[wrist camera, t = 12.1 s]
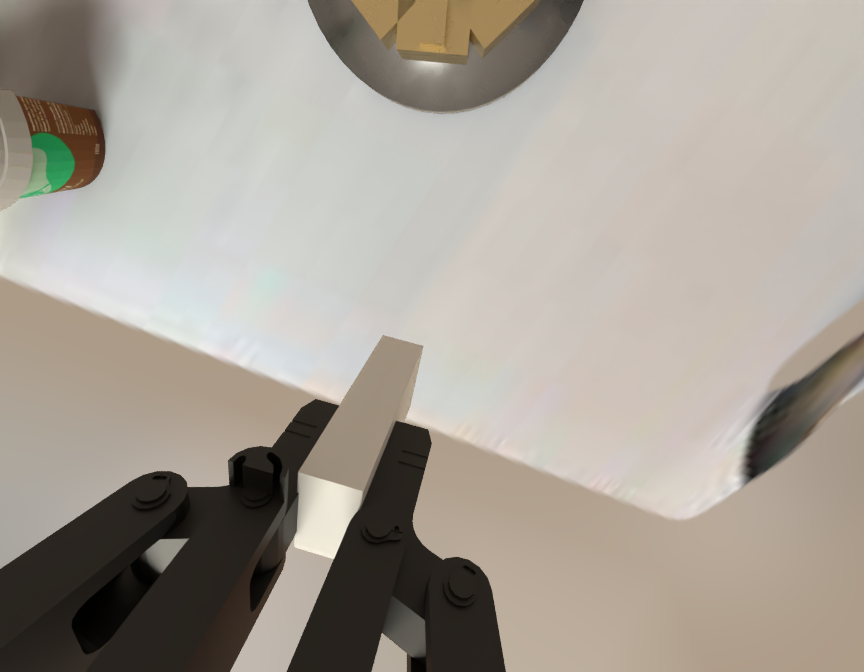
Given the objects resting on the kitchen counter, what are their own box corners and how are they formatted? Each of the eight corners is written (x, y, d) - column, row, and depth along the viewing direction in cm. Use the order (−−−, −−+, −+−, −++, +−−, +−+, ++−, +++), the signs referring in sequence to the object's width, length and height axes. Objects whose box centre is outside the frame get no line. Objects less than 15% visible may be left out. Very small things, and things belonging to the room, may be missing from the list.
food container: (35, 218, 38) (-99, 238, 29) (-9, 148, 36) (-169, 145, 27) (148, 181, 36) (41, 189, 27) (109, 104, 34) (-22, 85, 25)
